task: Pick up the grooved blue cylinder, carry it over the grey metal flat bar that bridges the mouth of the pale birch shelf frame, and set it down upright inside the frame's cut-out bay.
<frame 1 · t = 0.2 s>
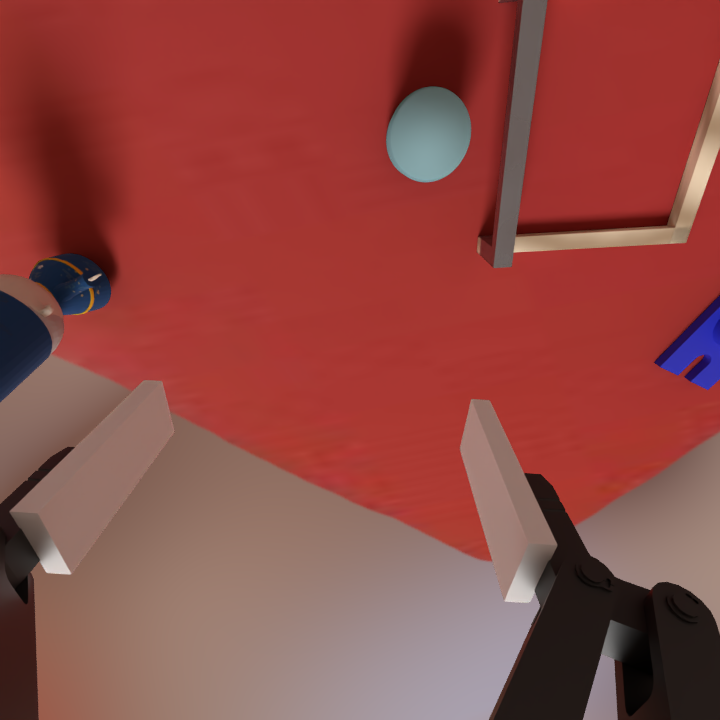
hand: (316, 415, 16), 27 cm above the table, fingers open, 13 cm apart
shelf frame: (600, 126, 33), on the table
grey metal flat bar: (496, 133, 34), on the table
figurine: (101, 285, 42), on the table
grooved blue cylinder: (420, 139, 34), on the table
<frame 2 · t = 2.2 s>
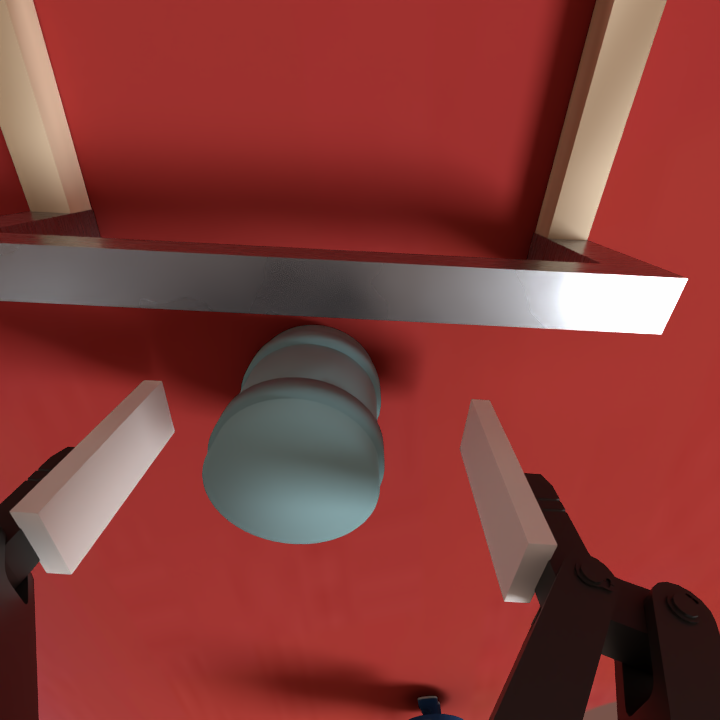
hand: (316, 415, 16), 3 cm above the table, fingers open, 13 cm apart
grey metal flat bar: (314, 241, 15), on the table
figurine: (442, 696, 36), on the table
grooved blue cylinder: (316, 379, 19), on the table
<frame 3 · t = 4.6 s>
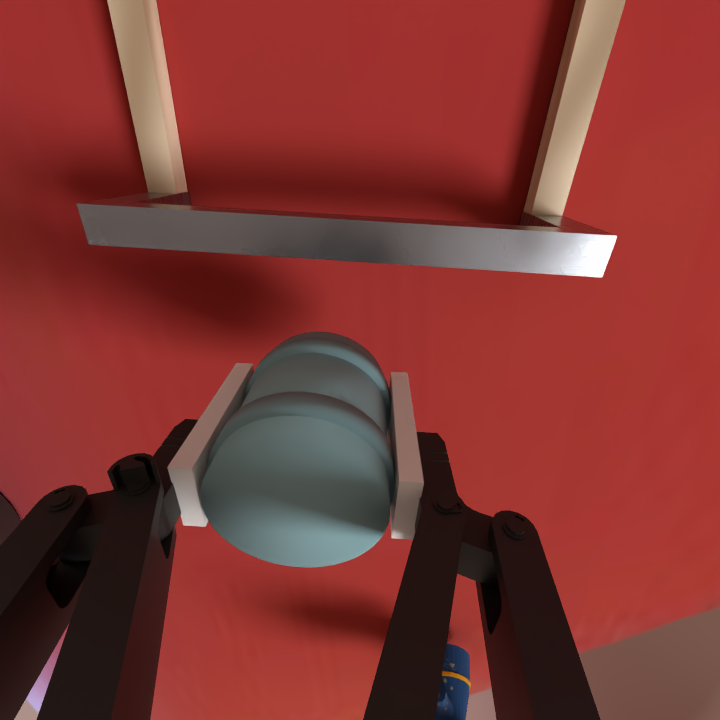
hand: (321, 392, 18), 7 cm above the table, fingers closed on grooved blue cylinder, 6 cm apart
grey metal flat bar: (352, 217, 20), on the table
figurine: (446, 633, 41), on the table
grooved blue cylinder: (322, 388, 18), point 7 cm above the table, touching gripper
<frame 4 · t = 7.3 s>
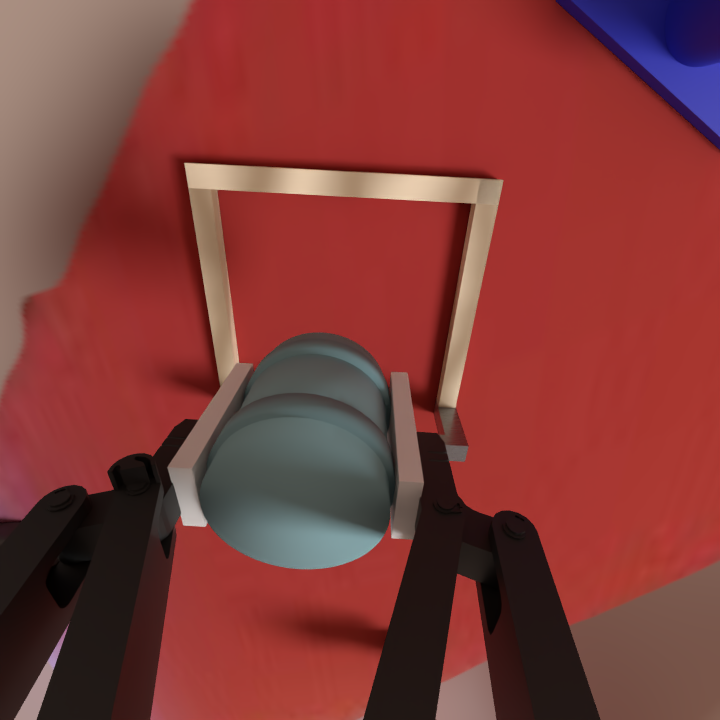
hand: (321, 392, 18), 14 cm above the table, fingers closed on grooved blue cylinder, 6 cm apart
shelf frame: (341, 308, 30), on the table
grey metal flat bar: (339, 400, 35), on the table
grooved blue cylinder: (322, 389, 18), point 14 cm above the table, touching gripper
mount: (697, 15, 21), on the table
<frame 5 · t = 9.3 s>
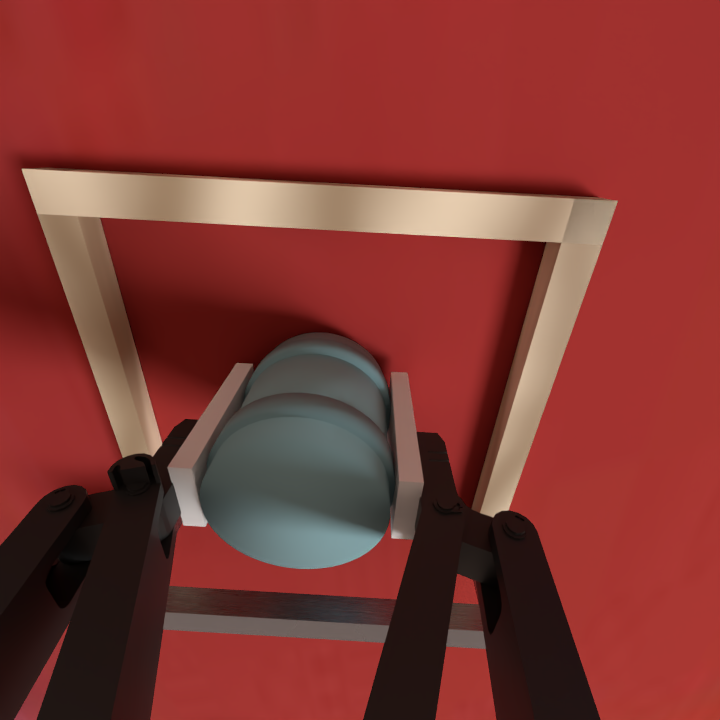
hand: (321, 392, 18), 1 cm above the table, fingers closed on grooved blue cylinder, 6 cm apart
shelf frame: (322, 399, 19), on the table
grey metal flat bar: (323, 519, 23), on the table
grooved blue cylinder: (322, 389, 18), point 1 cm above the table, touching gripper
when the fingers open (0 cm above the table, at t = 10.4 s): grooved blue cylinder stays where it is, on the table.
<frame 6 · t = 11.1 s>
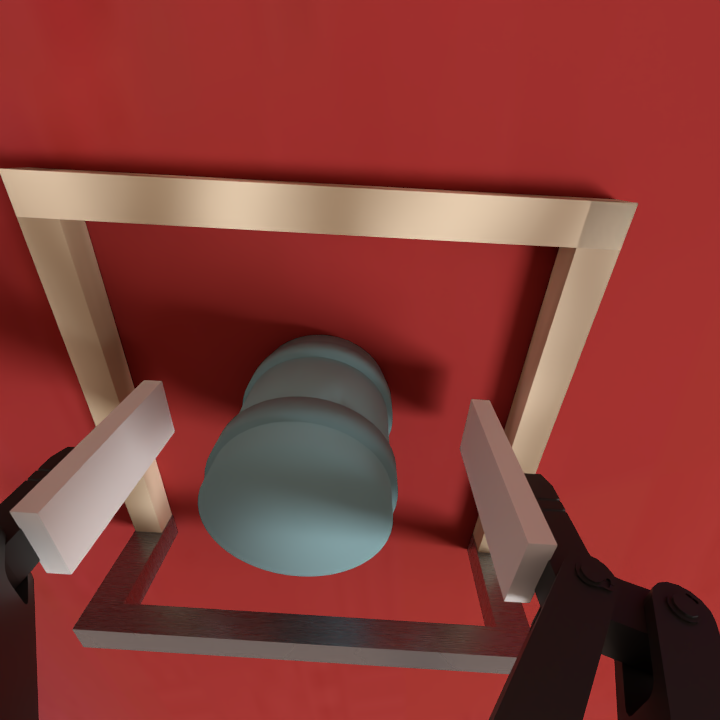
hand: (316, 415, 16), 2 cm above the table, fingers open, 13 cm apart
shelf frame: (321, 410, 18), on the table
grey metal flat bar: (322, 532, 22), on the table
grooved blue cylinder: (323, 392, 18), on the table
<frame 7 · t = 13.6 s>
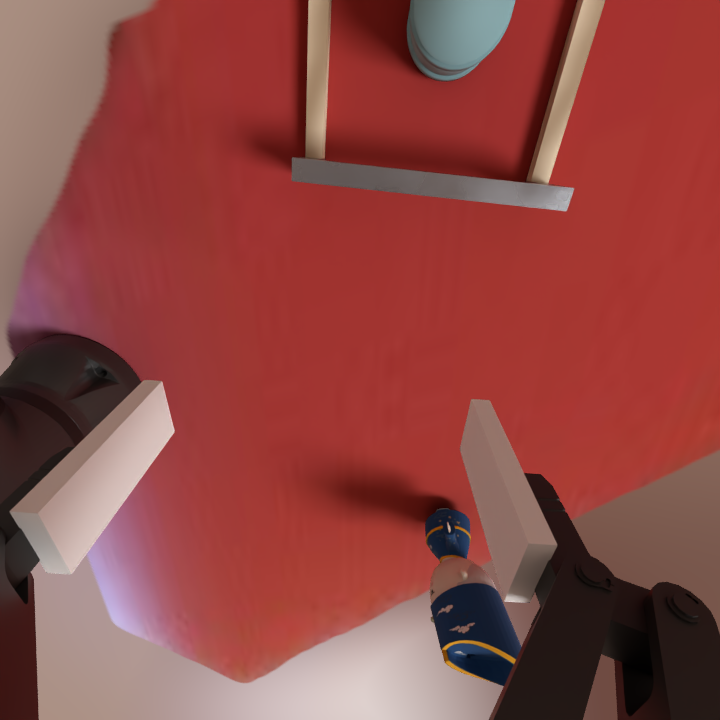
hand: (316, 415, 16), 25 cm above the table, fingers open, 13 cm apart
shelf frame: (444, 49, 29), on the table
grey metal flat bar: (423, 179, 33), on the table
figurine: (452, 510, 54), on the table
grooved blue cylinder: (448, 32, 28), on the table
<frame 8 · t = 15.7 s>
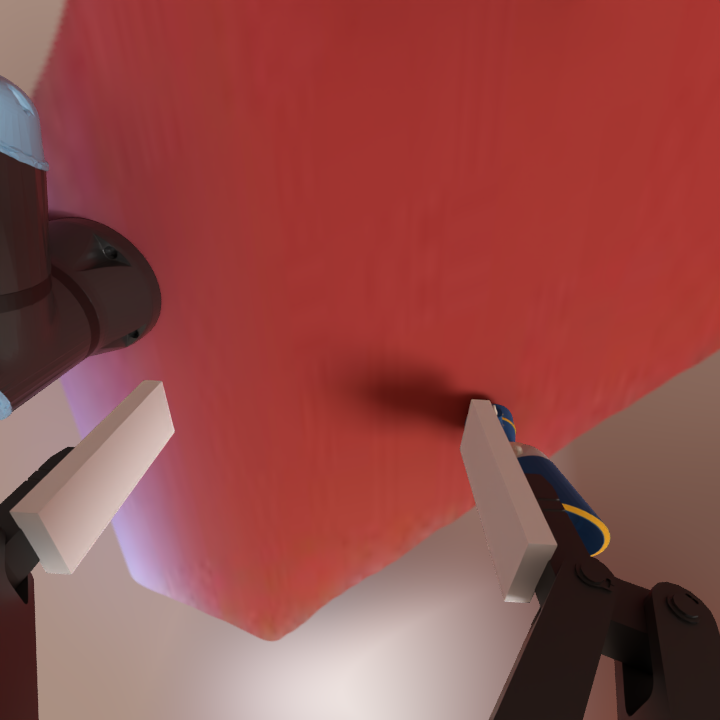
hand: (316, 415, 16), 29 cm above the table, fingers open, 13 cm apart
figurine: (492, 411, 51), on the table
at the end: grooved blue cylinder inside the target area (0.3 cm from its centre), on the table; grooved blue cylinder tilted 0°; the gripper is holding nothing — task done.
